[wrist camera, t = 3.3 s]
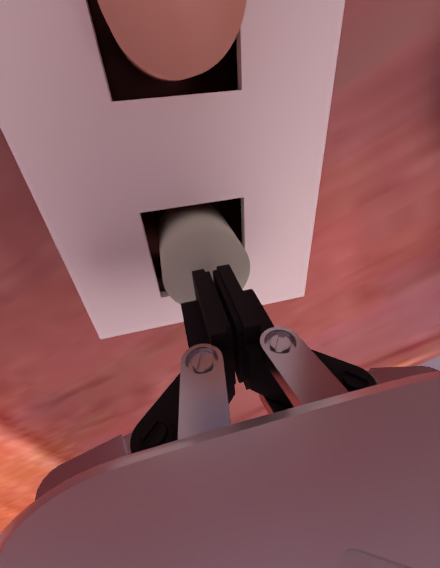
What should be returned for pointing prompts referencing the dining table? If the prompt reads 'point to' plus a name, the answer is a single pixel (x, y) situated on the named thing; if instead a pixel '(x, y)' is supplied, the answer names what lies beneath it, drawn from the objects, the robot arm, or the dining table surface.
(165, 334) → the dining table surface
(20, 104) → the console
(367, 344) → the dining table surface
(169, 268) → the sage button
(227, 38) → the orange rounded piece
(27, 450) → the dining table surface
